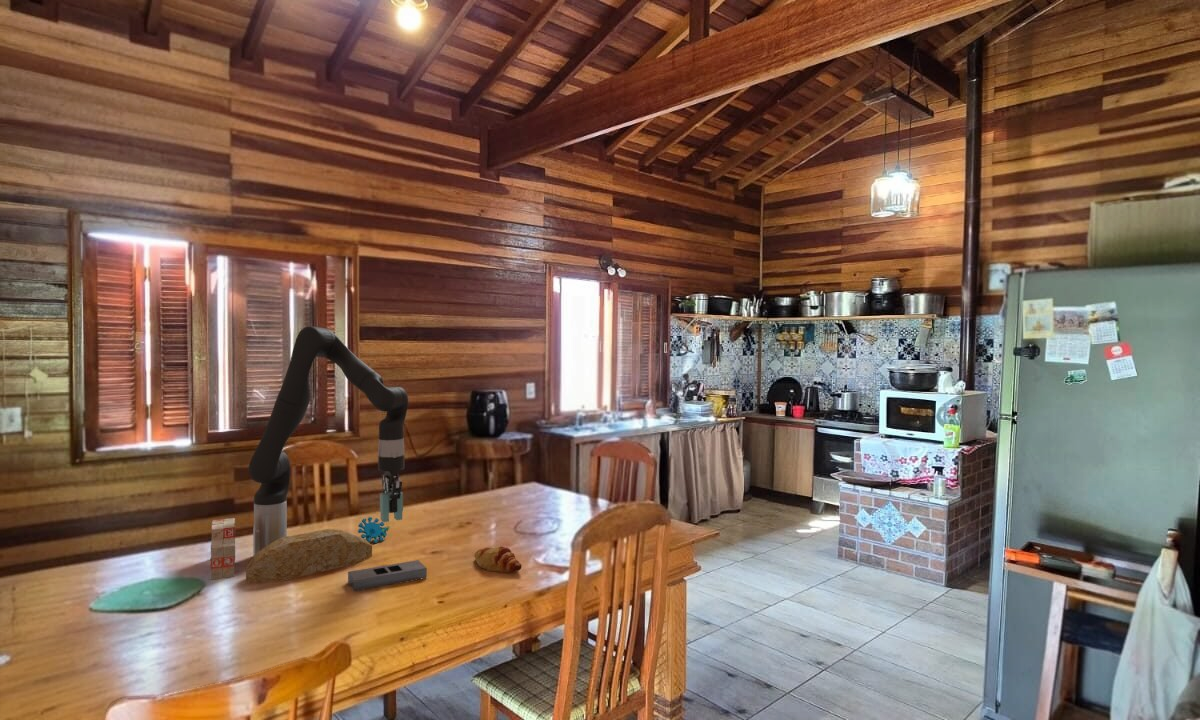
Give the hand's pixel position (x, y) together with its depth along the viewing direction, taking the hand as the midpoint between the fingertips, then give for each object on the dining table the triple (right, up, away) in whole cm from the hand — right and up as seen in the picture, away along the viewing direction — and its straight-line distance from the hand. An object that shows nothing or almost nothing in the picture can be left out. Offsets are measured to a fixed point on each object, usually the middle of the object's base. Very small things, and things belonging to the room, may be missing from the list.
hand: (391, 510), depth 200 cm
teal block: (0, -3, 0) cm, 3 cm away
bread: (-24, -18, 0) cm, 30 cm away
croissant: (+31, -18, +3) cm, 36 cm away
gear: (-15, -17, +28) cm, 36 cm away
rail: (+2, -18, -10) cm, 20 cm away
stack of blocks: (-50, -17, 0) cm, 53 cm away
